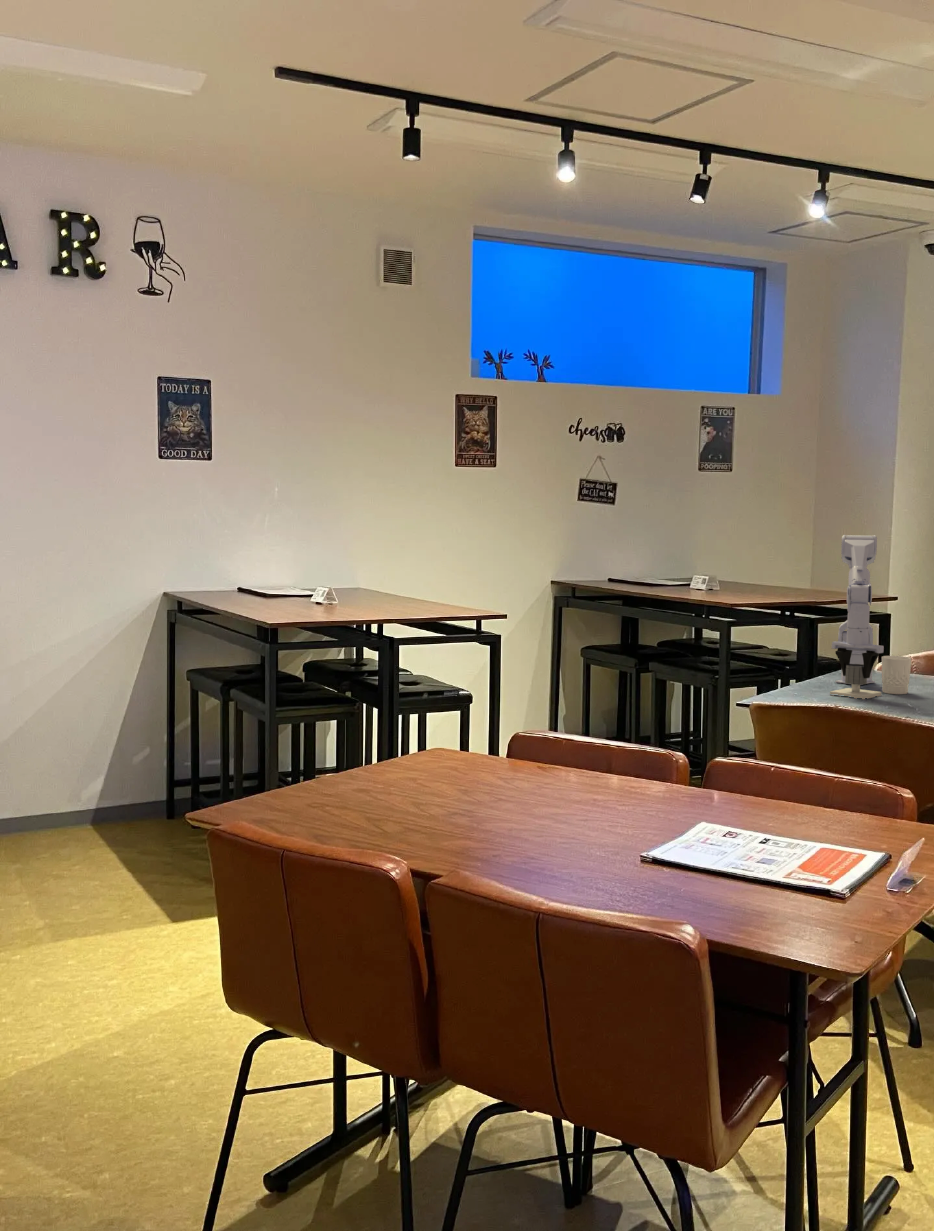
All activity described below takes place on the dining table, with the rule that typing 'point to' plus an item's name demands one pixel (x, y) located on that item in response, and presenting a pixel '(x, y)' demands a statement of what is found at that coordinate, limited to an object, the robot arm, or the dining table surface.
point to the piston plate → (856, 692)
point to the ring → (855, 674)
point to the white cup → (895, 674)
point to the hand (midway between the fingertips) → (856, 676)
